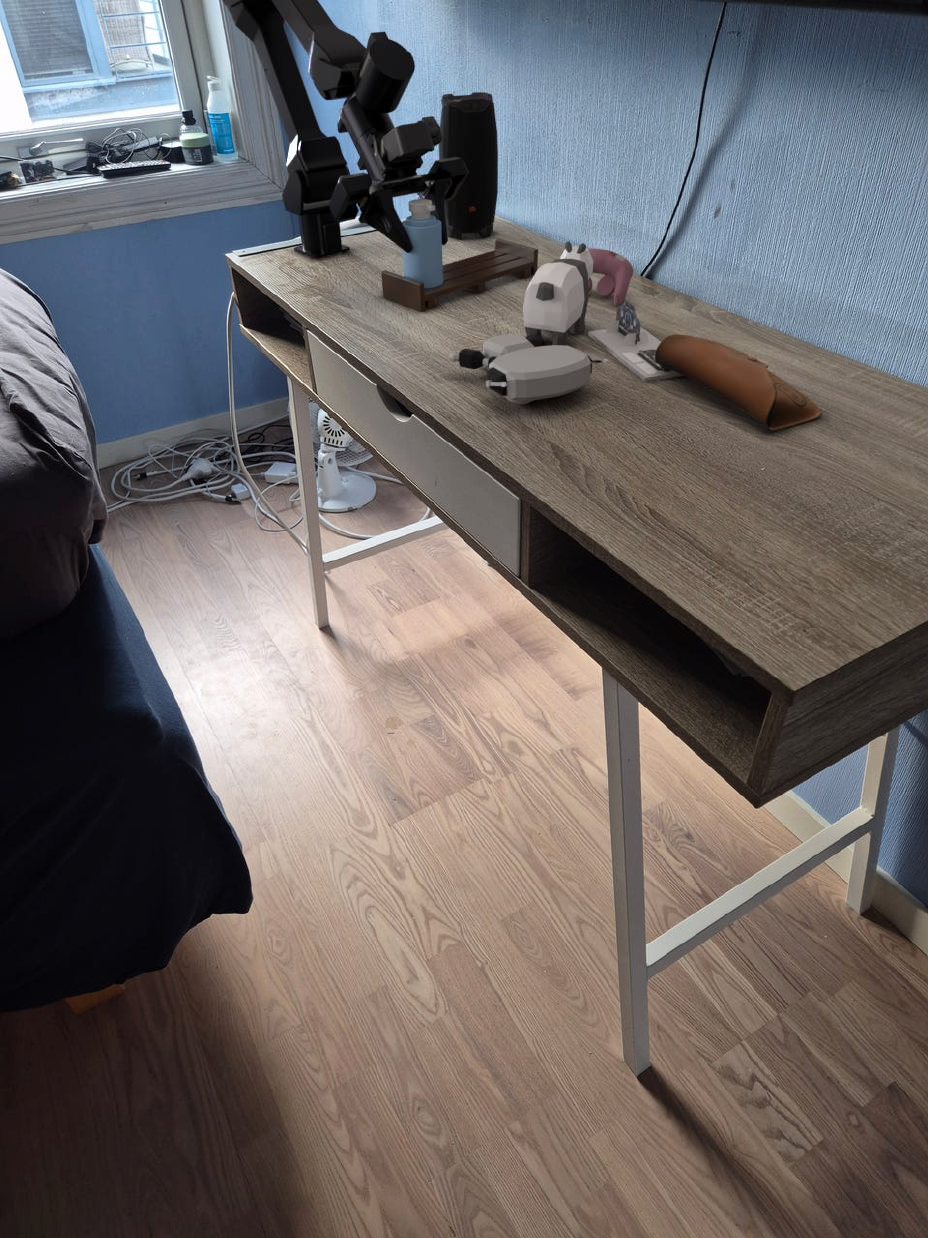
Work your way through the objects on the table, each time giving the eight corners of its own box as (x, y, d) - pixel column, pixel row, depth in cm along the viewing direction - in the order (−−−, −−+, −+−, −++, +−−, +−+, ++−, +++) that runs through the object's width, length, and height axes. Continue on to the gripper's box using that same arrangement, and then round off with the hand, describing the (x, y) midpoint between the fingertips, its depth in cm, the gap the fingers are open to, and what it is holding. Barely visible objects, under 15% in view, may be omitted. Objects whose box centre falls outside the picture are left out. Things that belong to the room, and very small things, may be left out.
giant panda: (562, 355, 101) (567, 270, 95) (518, 348, 102) (520, 264, 97) (601, 315, 111) (607, 235, 105) (560, 309, 113) (564, 231, 107)
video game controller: (628, 310, 116) (639, 255, 115) (621, 305, 112) (632, 247, 111) (558, 301, 120) (569, 248, 118) (549, 295, 116) (559, 240, 114)
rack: (382, 297, 118) (380, 271, 116) (498, 262, 129) (498, 237, 127) (421, 311, 113) (419, 284, 111) (537, 274, 125) (538, 248, 122)
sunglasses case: (830, 411, 87) (819, 362, 82) (776, 457, 87) (762, 412, 82) (711, 348, 99) (696, 303, 94) (664, 389, 99) (646, 345, 94)
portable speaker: (489, 242, 138) (489, 99, 126) (434, 238, 140) (428, 98, 128) (503, 227, 144) (504, 91, 132) (450, 224, 147) (446, 90, 134)
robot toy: (443, 380, 98) (508, 423, 86) (440, 340, 95) (507, 378, 84) (537, 360, 102) (611, 398, 91) (537, 320, 99) (613, 354, 88)
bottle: (396, 282, 116) (391, 201, 110) (425, 273, 119) (422, 194, 113) (421, 291, 113) (417, 208, 107) (451, 282, 116) (449, 201, 110)
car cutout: (587, 334, 106) (590, 297, 103) (637, 328, 107) (641, 290, 105) (644, 381, 95) (649, 341, 92) (699, 373, 96) (705, 333, 93)
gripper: (330, 101, 101) (387, 221, 101) (459, 85, 110) (512, 196, 110) (306, 165, 111) (359, 274, 111) (426, 146, 120) (475, 247, 119)
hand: (428, 247), depth 112 cm, fingers closed on bottle, 5 cm apart
